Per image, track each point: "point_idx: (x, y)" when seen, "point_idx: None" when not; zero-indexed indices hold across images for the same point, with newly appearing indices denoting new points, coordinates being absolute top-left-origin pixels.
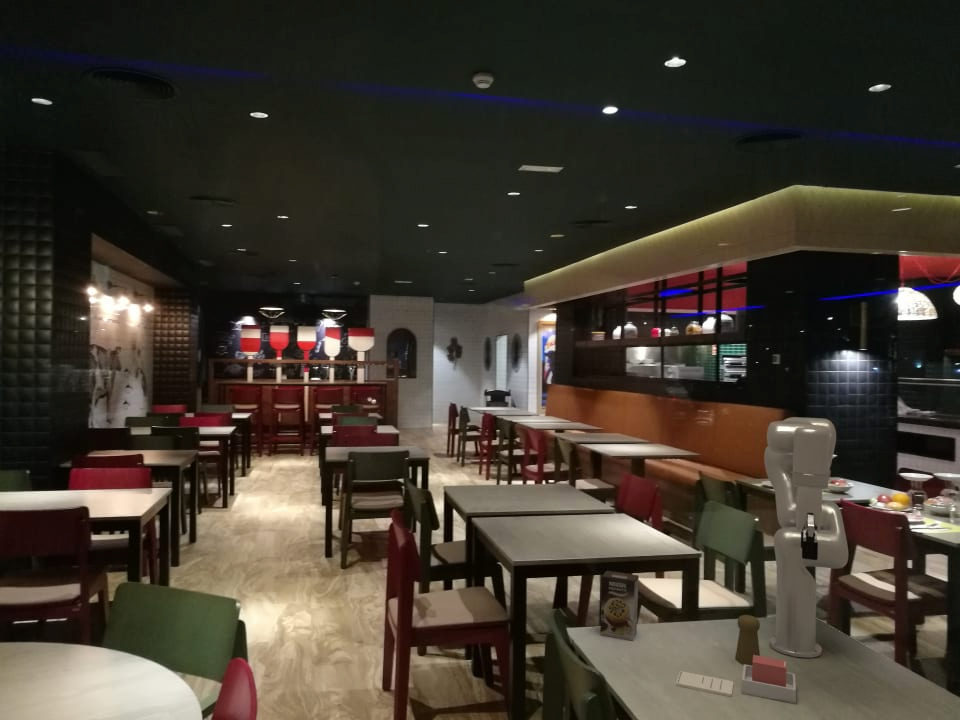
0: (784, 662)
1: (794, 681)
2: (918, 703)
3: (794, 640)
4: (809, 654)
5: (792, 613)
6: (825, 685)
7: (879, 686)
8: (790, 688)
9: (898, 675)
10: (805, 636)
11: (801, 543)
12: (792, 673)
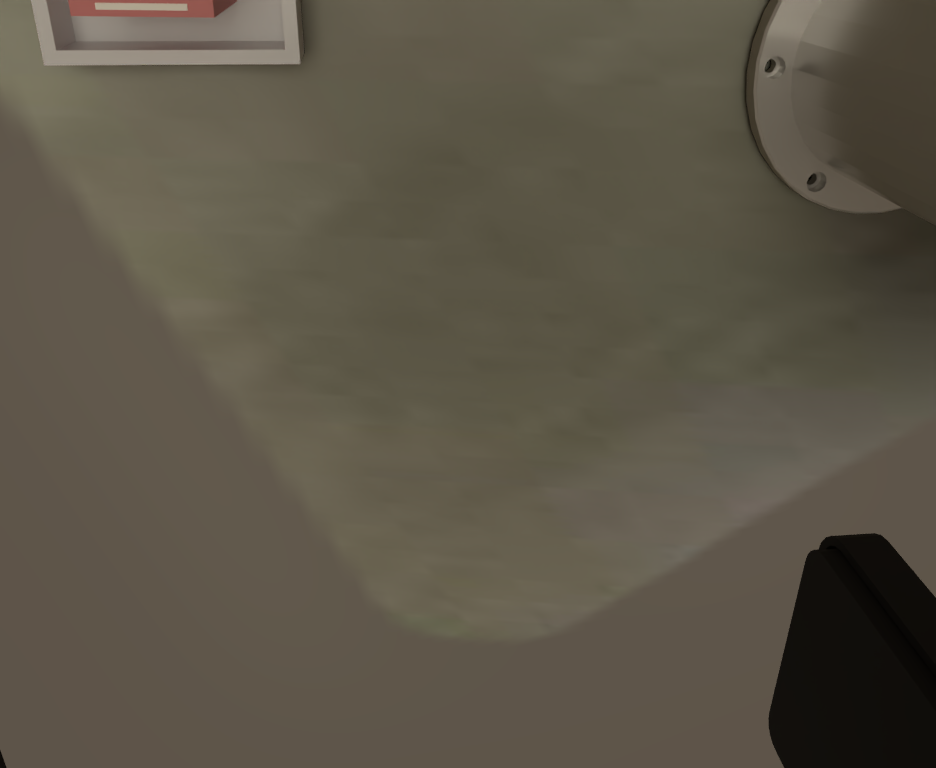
0: (167, 4)
1: (173, 59)
2: (414, 547)
3: (823, 69)
4: (763, 146)
5: (927, 83)
6: (413, 211)
7: (522, 432)
8: (46, 33)
9: (682, 504)
10: (840, 144)
11: (859, 613)
12: (294, 48)
